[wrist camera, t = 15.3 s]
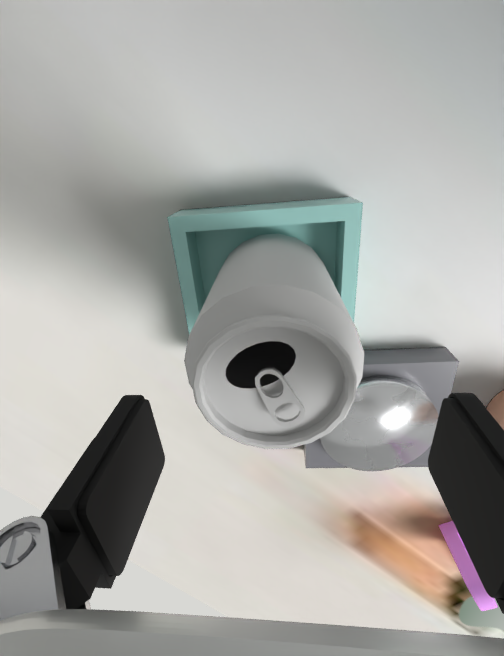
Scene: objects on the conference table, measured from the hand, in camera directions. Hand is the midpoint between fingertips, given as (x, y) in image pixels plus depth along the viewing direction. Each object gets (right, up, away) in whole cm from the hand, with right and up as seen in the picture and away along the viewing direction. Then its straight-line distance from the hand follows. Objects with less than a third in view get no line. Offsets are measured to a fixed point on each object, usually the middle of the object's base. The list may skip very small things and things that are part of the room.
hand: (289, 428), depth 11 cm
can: (0, +6, +12) cm, 14 cm away
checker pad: (+9, -4, +16) cm, 19 cm away
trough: (0, +7, +13) cm, 14 cm away
